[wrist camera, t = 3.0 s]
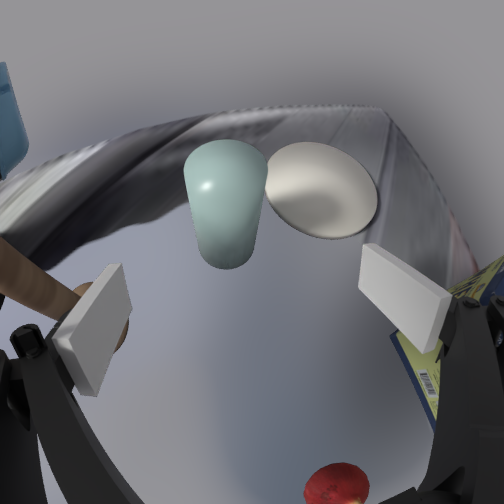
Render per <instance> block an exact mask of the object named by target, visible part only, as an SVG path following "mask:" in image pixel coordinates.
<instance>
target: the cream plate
mask: <svg viewBox="0 0 504 504" xmlns="http://www.w3.org/2000/svg"><path fill="white" fill-rule="evenodd" d="M267 165H268V175H267V180H266V186H265V194H266V197H267V199H268V202H269V204H270V205H271V207H272V208H273V210H274V211H275V212H276V213H277V214H278V215H279V217H280V218H282V219H283V220H284V221H285V222H286V223H287V224H289V225H290V226H291V227H293V228H295V229H296V230H298V231H300V232H302V233H305V234H307V235H310V236H313V237H316V238H321V239H330V240H334V239H344V238H348V237H351V236H353V235H355V234H357V233H359V232H360V231H361V230H363V229H364V228H365V227H366V226H367V224H368V223H369V222H370V221H371V219H372V218H373V216H374V214H375V211H376V208H377V192H376V188H375V186H374V183H373V181H372V179H371V177H370V175H369V174H368V173H367V171H366V170H365V169H364V168H363V166H362V165H361V164H360V163H359V162H357V161H356V160H355V159H354V158H353V157H351V156H350V155H348V154H347V153H345V152H343V151H341V150H339V149H337V148H335V147H332V146H329V145H326V144H322V143H316V142H299V143H294V144H290V145H287V146H285V147H283V148H281V149H279V150H278V151H277V152H276V153H274V154H273V156H272V157H271V158H270V159H269V161H268V163H267Z"/></svg>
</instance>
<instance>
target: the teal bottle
mask: <svg viewBox="0 0 504 504" xmlns="http://www.w3.org/2000/svg"><path fill="white" fill-rule="evenodd" d="M267 175H268V165H267V162H266V159H265V158H264V156H263V155H262V153H261V152H260V151H259V150H257V149H256V148H255V147H253V146H251V145H249V144H247V143H245V142H242V141H237V140H229V139H225V140H216V141H211V142H208V143H206V144H203V145H202V146H200V147H198V148H197V149H195V150H194V151H193V152H192V153H191V154H190V155H189V157H188V158H187V160H186V162H185V165H184V177H185V183H186V188H187V193H188V198H189V204H190V209H191V213H192V218H193V223H194V228H195V233H196V237H197V241H198V247H199V251H200V254H201V256H202V257H203V259H204V260H205V261H206V262H207V263H208V264H210V265H211V266H213V267H216V268H219V269H233V268H237V267H239V266H241V265H243V264H244V263H246V262H247V261H248V259H249V258H250V257H251V255H252V253H253V250H254V245H255V240H256V234H257V229H258V223H259V218H260V213H261V207H262V201H263V196H264V191H265V186H266V180H267Z"/></svg>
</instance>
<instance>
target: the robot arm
mask: <svg viewBox="0 0 504 504" xmlns="http://www.w3.org/2000/svg"><path fill="white" fill-rule="evenodd" d="M28 147H29V141H28V137H27V133H26V130H25V128H24V124H23V121H22V118H21V115H20V111H19V108H18V105H17V102H16V98H15V94H14V91H13V87H12V84H11V80H10V77H9V73H8V69H7V66H6V63H5V62H1V63H0V181H1V180H5V179H6V176H7V174H8V173H9V172H10V171H11V170H12V169H13V168H14V167H15V166H17V165H18V163H20V162H21V161H22V160H23V159H24V157H25V156H26V154H27V151H28ZM358 288H359V289H360V290H361V291H362V292H363V293H364V294H365V295H366V296H367V297H368V298H369V299H370V300H371V301H372V302H373V303H374V304H375V305H376V306H377V307H378V308H379V309H380V310H381V311H382V312H383V313H384V314H385V315H386V316H387V318H388V319H390V321H392V323H393V324H394V325H395V326H396V327H397V328H398V329H399V330H400V331H401V332H402V333H403V334H404V335H405V336H406V337H407V338H408V339H409V341H410V342H411V343H412V344H413V345H414V346H415V347H416V348H417V349H418V350H419V351H420V352H421V353H422V354H424V353H427V352H430V351H432V350H434V349H435V346H436V344H437V341H438V338H439V339H440V340H441V341H442V342H443V344H442V346H441V349H440V351H439V354H438V356H437V358H436V361H435V363H437V362H438V360H439V359H440V384H439V398H438V409H437V418H436V426H435V433H434V439H433V445H432V450H431V456H430V461H429V465H428V469H427V473H426V476H425V478H424V480H423V481H422V483H421V484H420V486H419V488H418V490H417V491H416V489H415V488H414V487H412V488H410V489H408V490H406V491H404V492H402V493H400V494H398V495H396V496H394V497H392V498H390V499H387V500H385V501H383V502H381V503H379V504H504V297H503V296H500V295H499V296H497V295H493V296H491V298H490V301H489V304H488V306H482V305H481V303H480V302H479V301H477V300H476V299H474V298H471V297H465V296H463V297H460V298H458V299H457V298H456V297H455V296H453V295H452V294H450V293H449V292H448V291H446V290H445V289H443V288H442V287H441V286H439V285H438V284H436V283H435V282H433V281H432V280H430V279H429V278H427V277H426V276H424V275H423V274H421V273H420V272H418V271H417V270H415V269H414V268H412V267H411V266H409V265H408V264H406V263H405V262H403V261H402V260H400V259H399V258H397V257H395V256H394V255H392V254H391V253H389V252H388V251H386V250H384V249H383V248H381V247H379V246H378V245H376V244H375V243H370V244H363V250H362V260H361V268H360V276H359V284H358ZM4 299H5V295H3V294H2V293H0V310H1V307H2V305H3V302H4ZM131 310H132V306H131V302H130V298H129V294H128V290H127V285H126V281H125V276H124V272H123V267H122V263H115V264H108V266H107V267H106V268H105V269H104V270H103V271H102V273H101V274H100V275H99V276H98V278H97V279H96V280H95V281H94V282H93V284H92V285H91V286H90V287H89V289H88V290H87V291H86V292H85V294H84V295H83V296H82V297H81V299H80V300H79V301H78V303H77V304H76V305H75V307H74V308H73V309H70V310H68V311H67V312H65V313H64V314H63V315H62V316H61V317H60V319H59V320H58V323H56V324H55V325H54V328H52V330H51V331H50V332H49V334H48V335H47V336H46V338H45V339H44V338H43V336H42V334H41V331H40V329H39V327H38V326H37V325H35V324H26V325H23V326H21V327H19V328H17V329H16V330H15V331H14V332H13V333H12V334H11V336H10V341H11V343H12V345H13V347H14V349H15V351H16V353H17V355H18V357H19V358H17V359H11V360H9V359H8V357H7V355H6V353H5V352H4V350H1V349H0V504H48V502H47V498H46V494H45V489H44V484H43V479H42V472H41V466H40V458H39V451H38V440H37V434H38V437H39V440H40V442H41V445H42V448H43V451H44V453H45V456H46V458H47V461H48V463H49V465H50V468H51V470H52V472H53V475H54V477H55V479H56V481H57V483H58V485H59V487H60V489H61V491H62V493H63V495H64V497H65V499H66V501H67V503H68V504H144V503H143V501H142V500H141V499H140V498H139V497H138V495H137V494H136V493H135V492H134V491H133V489H132V488H131V487H130V485H129V484H128V483H127V482H126V480H125V479H124V478H123V476H122V475H121V473H120V472H119V471H118V469H117V468H116V466H115V465H114V464H113V462H112V461H111V459H110V458H109V456H108V455H107V453H106V452H105V450H104V449H103V447H102V445H101V444H100V442H99V441H98V439H97V437H96V436H95V434H94V432H93V430H92V429H91V427H90V425H89V424H88V422H87V420H86V418H85V416H84V414H83V412H82V411H81V408H80V407H79V405H78V403H77V401H76V399H75V397H74V395H73V393H72V389H73V387H74V385H75V386H76V388H77V389H78V391H79V393H80V395H84V396H93V397H97V396H98V393H99V390H100V387H101V384H102V382H103V379H104V376H105V374H106V371H107V368H108V365H109V363H110V360H111V358H112V355H113V353H114V351H115V348H116V346H117V343H118V341H119V338H120V336H121V334H122V331H123V329H124V327H125V324H126V322H127V320H128V317H129V315H130V313H131ZM501 332H502V334H503V340H502V342H501V344H500V346H499V345H498V344H497V341H498V339H499V337H500V335H501Z"/></svg>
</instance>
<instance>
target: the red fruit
mask: <svg viewBox="0 0 504 504" xmlns="http://www.w3.org/2000/svg"><path fill="white" fill-rule="evenodd" d="M369 487H370V485H369V481H368V479H367V476H366V474H365V473H364V472H363V471H362V470H361V469H360V468H358V467H357V466H355V465H351V464H348V463H334V464H330V465H328V466H325V467H323V468H321V469H319V470H318V471H317V472H315V473H314V474H313V475H312V476H311V478H310V479H309V481H308V482H307V483H306V486H305V490H304V497H305V500H306V503H307V504H364V502H365V501H366V499H367V497H368V493H369Z"/></svg>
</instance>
